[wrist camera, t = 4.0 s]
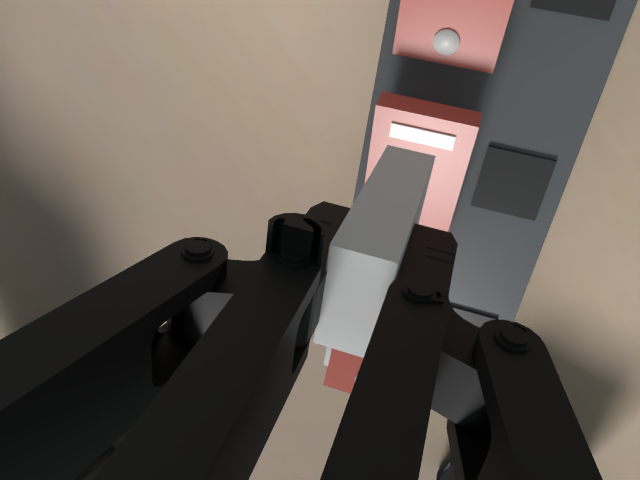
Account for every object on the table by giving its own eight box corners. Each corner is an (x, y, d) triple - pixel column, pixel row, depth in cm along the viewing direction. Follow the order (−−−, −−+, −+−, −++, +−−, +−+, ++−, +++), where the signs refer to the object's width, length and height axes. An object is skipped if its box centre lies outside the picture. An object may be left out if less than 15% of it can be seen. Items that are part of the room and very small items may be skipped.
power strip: (327, 389, 43) (306, 441, 39) (440, -199, 25) (425, -226, 21) (458, 430, 42) (452, 489, 37) (680, -170, 24) (720, -193, 19)
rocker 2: (362, 223, 31) (356, 239, 30) (382, 91, 25) (375, 106, 24) (443, 243, 30) (439, 260, 29) (482, 112, 24) (478, 128, 24)
